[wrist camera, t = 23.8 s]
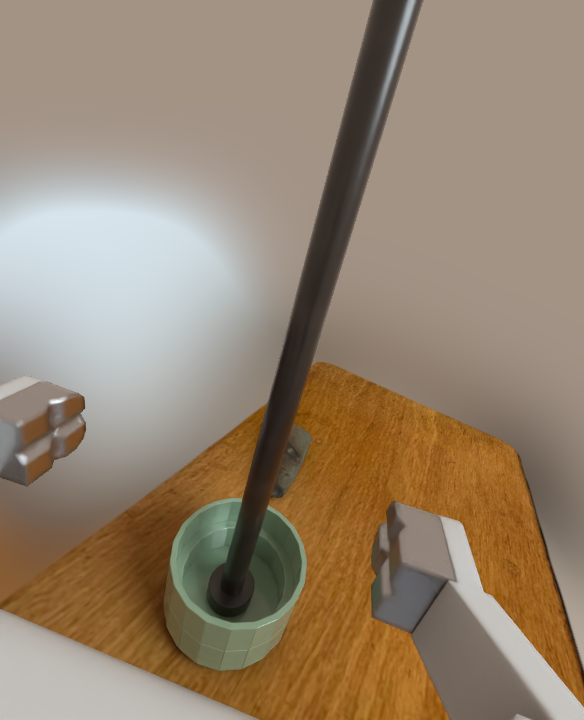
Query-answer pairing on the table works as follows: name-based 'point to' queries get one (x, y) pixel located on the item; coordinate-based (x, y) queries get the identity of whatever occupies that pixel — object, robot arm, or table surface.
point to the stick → (318, 280)
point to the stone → (291, 460)
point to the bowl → (269, 600)
